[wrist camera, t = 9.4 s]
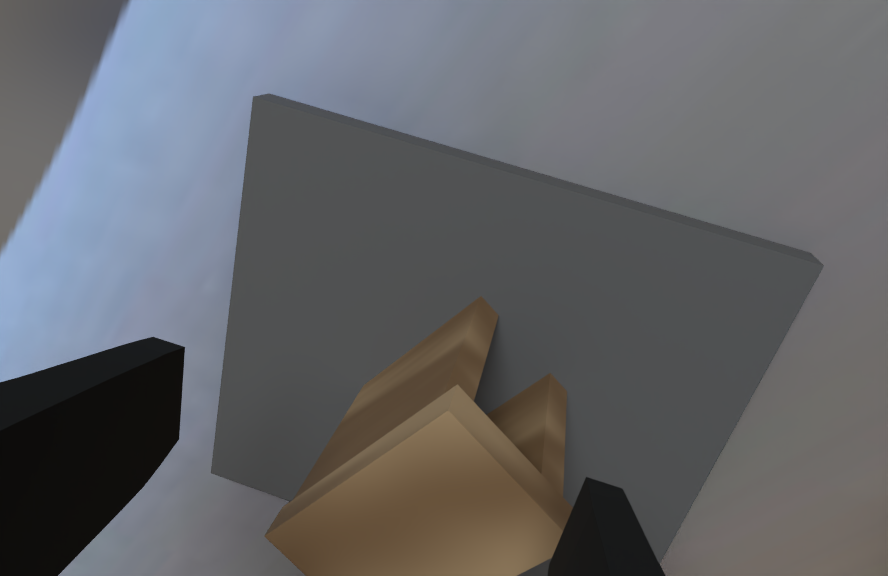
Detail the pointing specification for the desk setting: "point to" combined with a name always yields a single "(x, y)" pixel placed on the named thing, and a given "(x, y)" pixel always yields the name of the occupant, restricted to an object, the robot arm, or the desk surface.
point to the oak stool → (434, 471)
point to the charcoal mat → (504, 288)
